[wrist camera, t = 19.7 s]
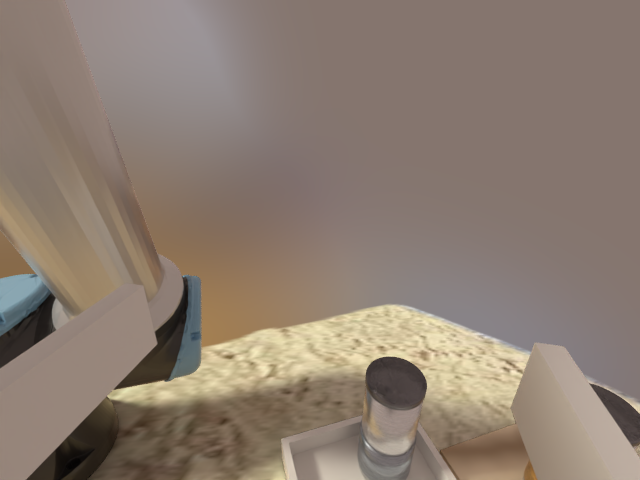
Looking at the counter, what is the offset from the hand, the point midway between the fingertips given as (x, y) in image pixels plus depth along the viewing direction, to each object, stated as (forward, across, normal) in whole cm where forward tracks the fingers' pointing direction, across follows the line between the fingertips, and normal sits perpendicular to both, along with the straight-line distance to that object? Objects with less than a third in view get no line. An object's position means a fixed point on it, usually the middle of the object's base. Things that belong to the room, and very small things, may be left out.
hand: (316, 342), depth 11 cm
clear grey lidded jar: (+17, +5, -33) cm, 38 cm away
